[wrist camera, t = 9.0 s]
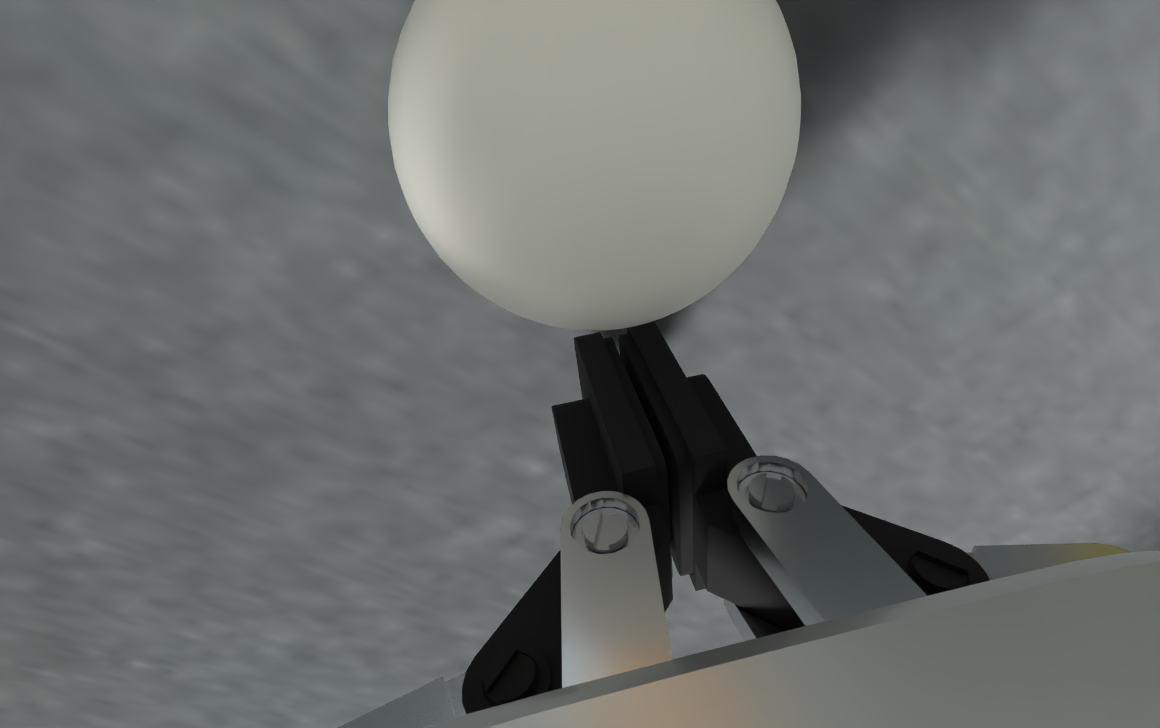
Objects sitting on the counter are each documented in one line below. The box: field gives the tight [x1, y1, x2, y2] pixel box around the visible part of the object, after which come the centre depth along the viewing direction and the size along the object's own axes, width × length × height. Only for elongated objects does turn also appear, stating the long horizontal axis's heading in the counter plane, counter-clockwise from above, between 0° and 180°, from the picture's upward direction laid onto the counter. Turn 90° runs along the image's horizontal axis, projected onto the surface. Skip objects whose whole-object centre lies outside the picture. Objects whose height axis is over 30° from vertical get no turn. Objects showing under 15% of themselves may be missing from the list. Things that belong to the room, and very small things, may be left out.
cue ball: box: [388, 0, 801, 330], centre depth 8 cm, size 6×6×6 cm
